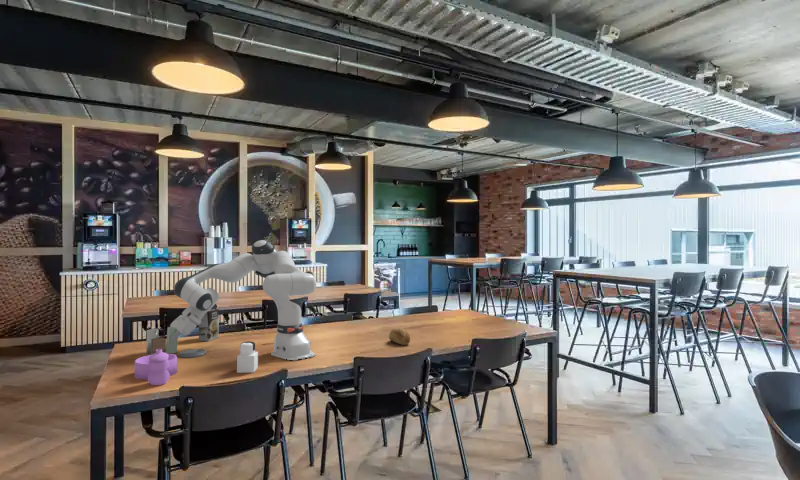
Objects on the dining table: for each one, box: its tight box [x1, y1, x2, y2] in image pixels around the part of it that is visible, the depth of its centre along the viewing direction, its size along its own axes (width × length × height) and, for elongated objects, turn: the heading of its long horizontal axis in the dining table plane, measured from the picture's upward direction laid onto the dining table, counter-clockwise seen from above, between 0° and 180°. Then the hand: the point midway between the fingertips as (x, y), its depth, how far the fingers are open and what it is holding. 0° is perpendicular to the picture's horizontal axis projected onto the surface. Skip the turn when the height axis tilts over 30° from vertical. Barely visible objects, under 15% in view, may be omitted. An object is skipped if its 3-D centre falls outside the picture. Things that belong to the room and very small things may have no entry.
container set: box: [134, 349, 178, 386], centre depth 177 cm, size 25×15×13 cm, turn 33°
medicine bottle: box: [236, 340, 259, 374], centre depth 187 cm, size 7×7×12 cm
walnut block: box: [150, 337, 167, 355], centre depth 203 cm, size 5×5×9 cm
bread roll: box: [388, 327, 411, 346], centre depth 237 cm, size 10×15×8 cm, turn 34°
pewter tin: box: [146, 328, 160, 355], centre depth 212 cm, size 5×5×11 cm
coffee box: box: [198, 308, 220, 342], centre depth 241 cm, size 9×6×16 cm
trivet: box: [177, 348, 207, 359], centre depth 210 cm, size 12×12×1 cm
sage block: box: [166, 326, 179, 354], centre depth 213 cm, size 4×4×12 cm
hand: (169, 338), depth 212 cm, fingers closed on sage block, 4 cm apart
